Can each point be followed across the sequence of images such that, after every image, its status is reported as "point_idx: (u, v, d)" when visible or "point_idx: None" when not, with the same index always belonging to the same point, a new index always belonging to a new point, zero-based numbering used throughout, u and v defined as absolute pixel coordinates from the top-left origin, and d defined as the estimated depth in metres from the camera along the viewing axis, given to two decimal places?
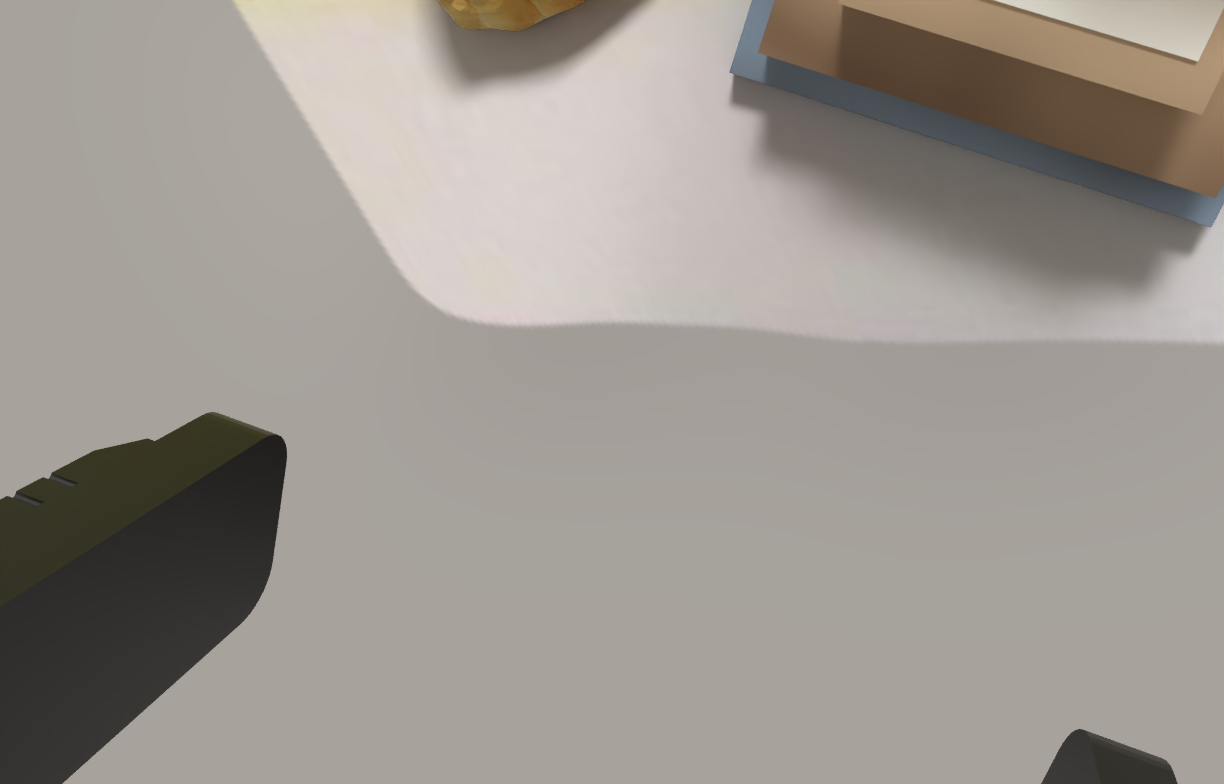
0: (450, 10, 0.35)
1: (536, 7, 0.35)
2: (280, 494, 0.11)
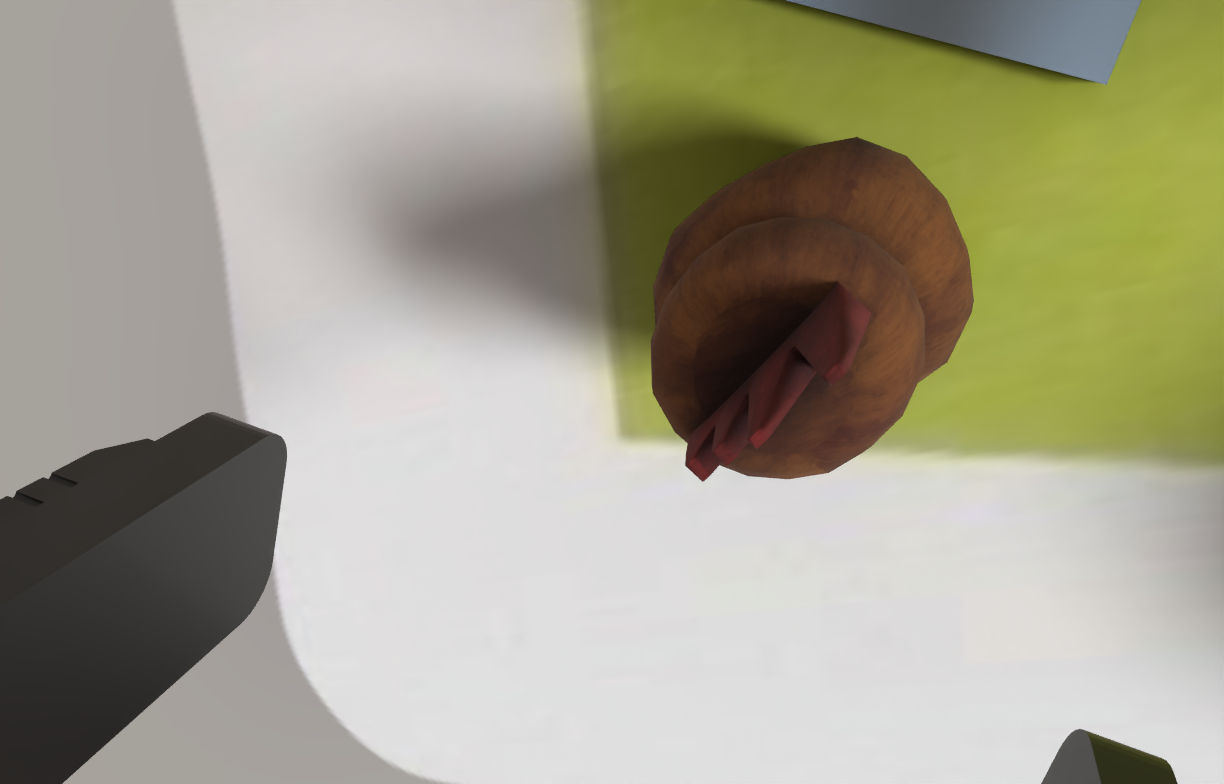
0: None
1: None
2: (280, 494, 0.11)
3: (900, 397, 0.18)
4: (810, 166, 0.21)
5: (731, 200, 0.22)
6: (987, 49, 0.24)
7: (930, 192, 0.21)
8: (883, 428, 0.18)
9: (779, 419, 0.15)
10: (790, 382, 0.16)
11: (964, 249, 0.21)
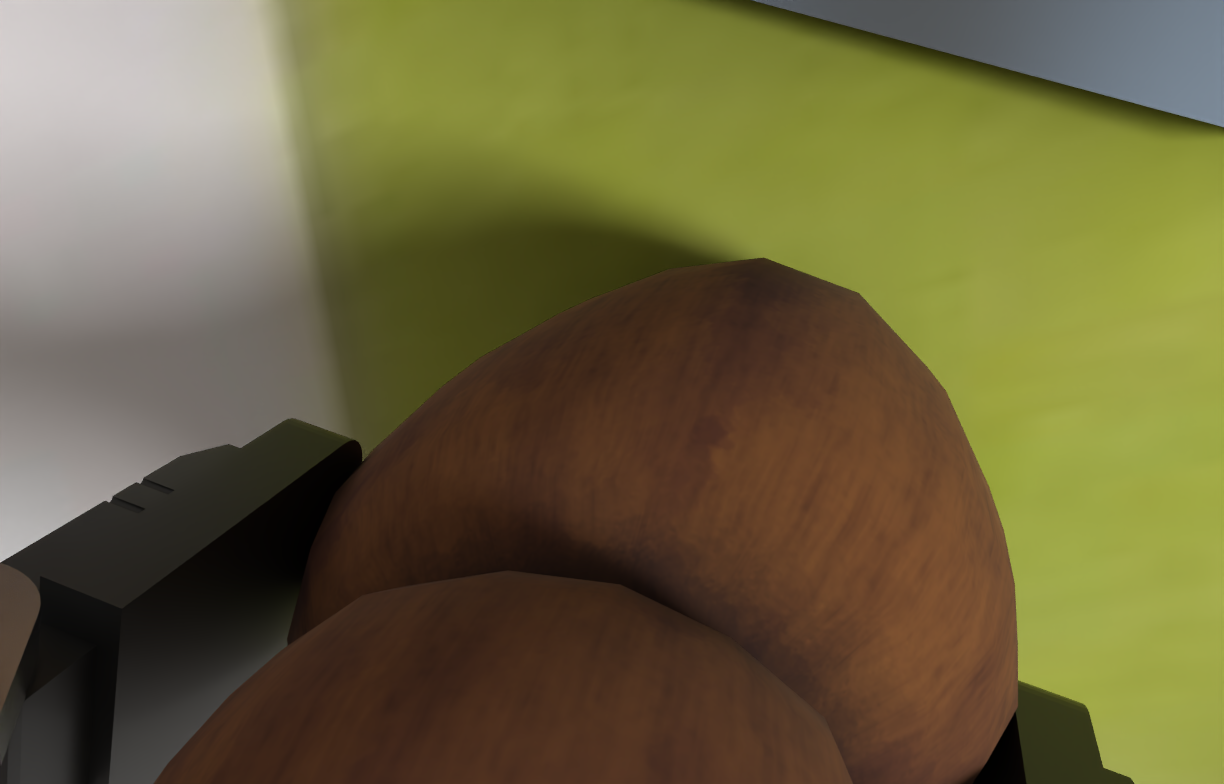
0: None
1: None
2: None
3: None
4: (620, 364, 0.09)
5: (435, 438, 0.09)
6: (1038, 69, 0.11)
7: (918, 430, 0.08)
8: None
9: None
10: None
11: (1002, 567, 0.09)
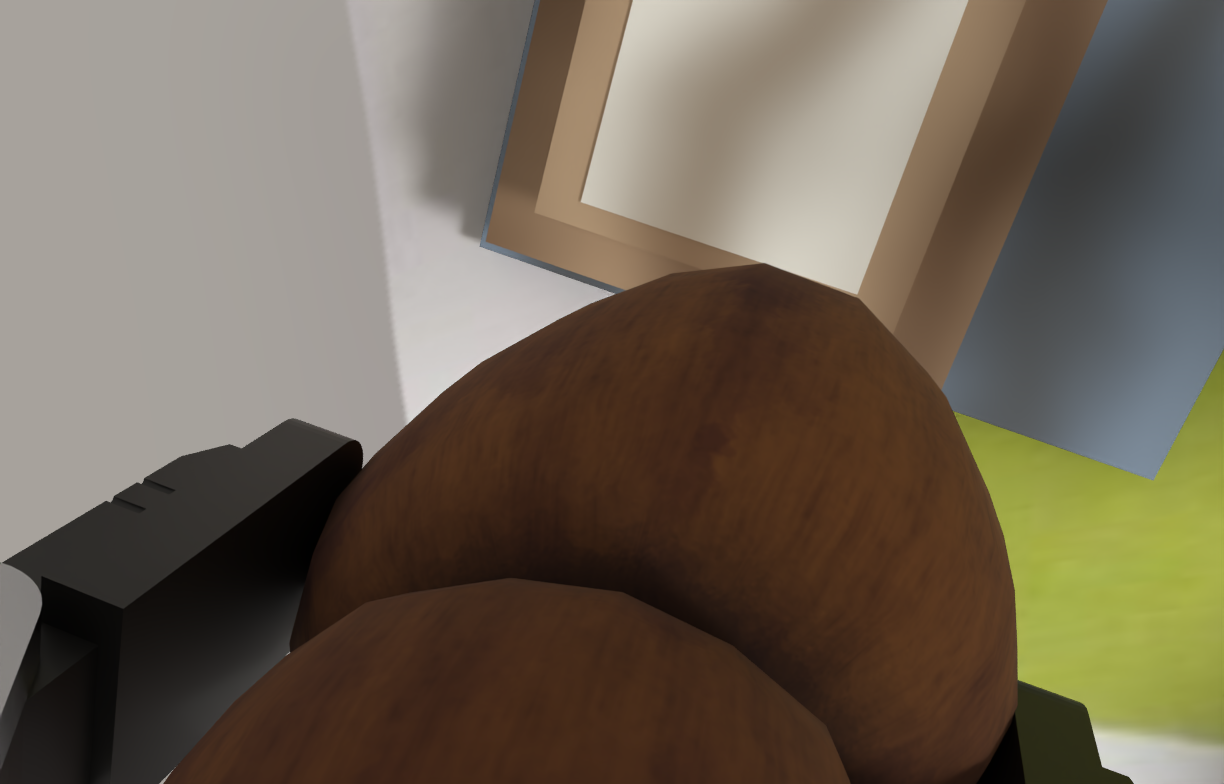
0: None
1: None
2: None
3: None
4: (621, 371, 0.09)
5: (437, 444, 0.09)
6: (1062, 446, 0.32)
7: (919, 437, 0.08)
8: None
9: None
10: None
11: (1003, 574, 0.09)
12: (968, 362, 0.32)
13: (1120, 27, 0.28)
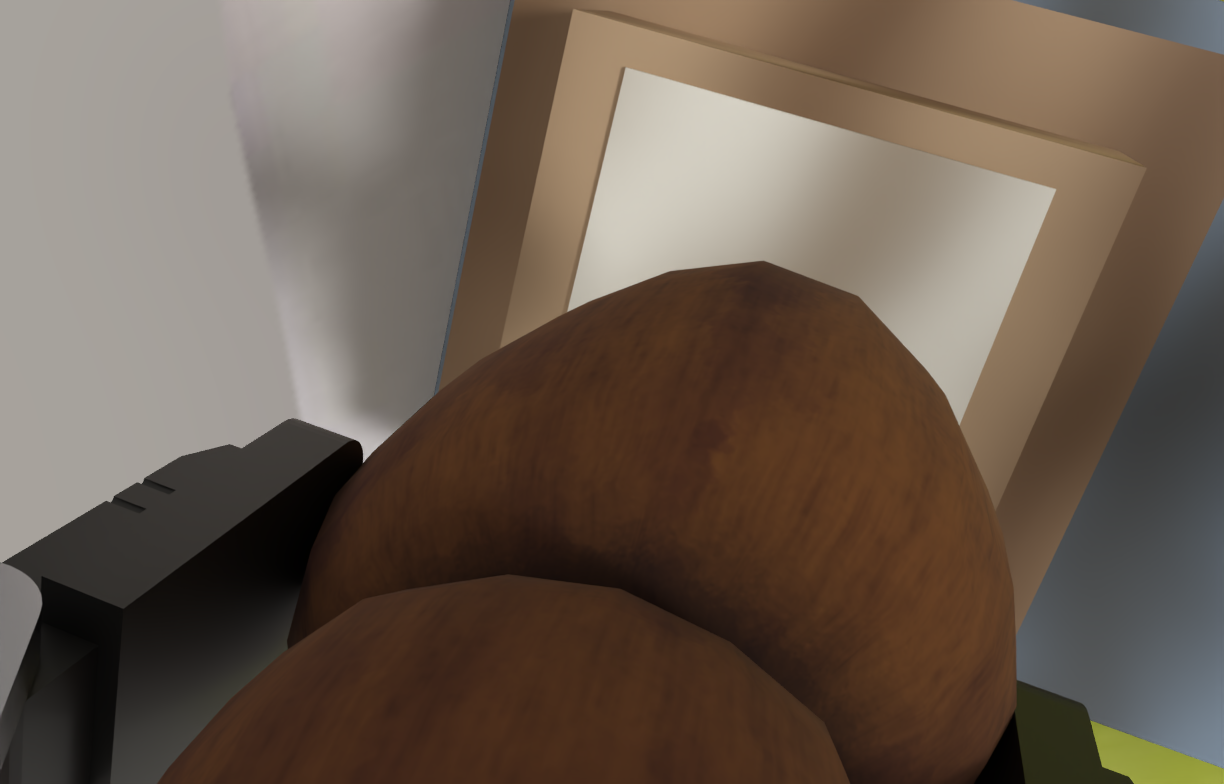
0: None
1: None
2: None
3: None
4: (620, 367, 0.09)
5: (435, 441, 0.09)
6: (1138, 735, 0.25)
7: (918, 434, 0.08)
8: None
9: None
10: None
11: (1002, 571, 0.09)
12: (1019, 632, 0.25)
13: (1210, 248, 0.22)
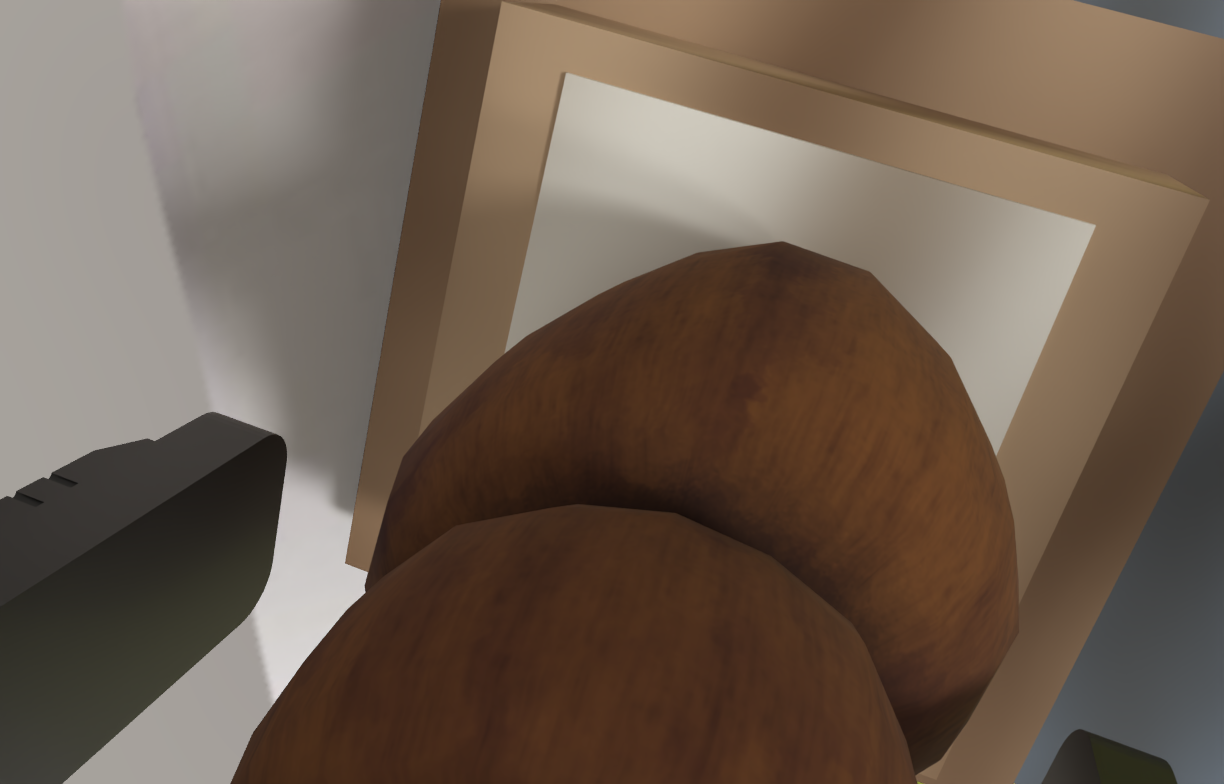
0: None
1: None
2: (280, 494, 0.11)
3: None
4: (663, 332, 0.10)
5: (499, 401, 0.10)
6: None
7: (927, 386, 0.10)
8: None
9: None
10: None
11: (1004, 507, 0.10)
12: None
13: None
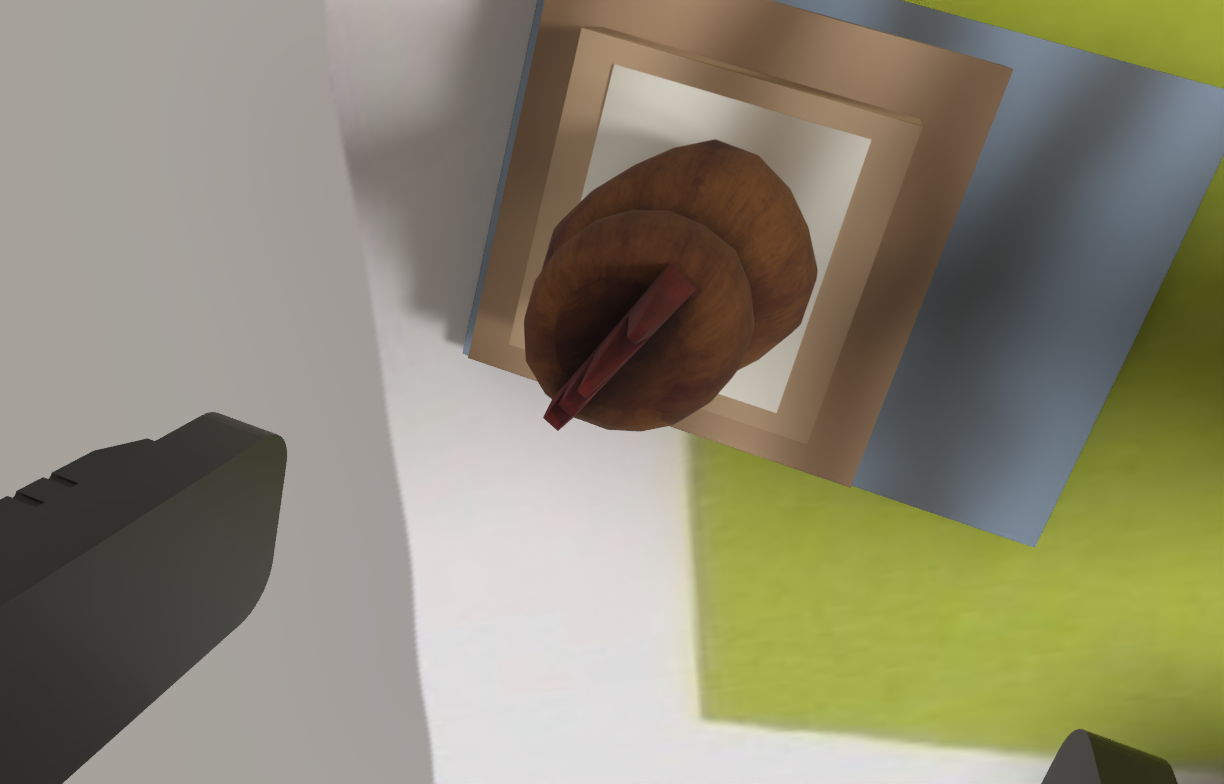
0: None
1: None
2: (280, 494, 0.11)
3: (726, 359, 0.21)
4: (667, 165, 0.25)
5: (601, 195, 0.25)
6: (959, 520, 0.38)
7: (770, 187, 0.25)
8: (714, 385, 0.21)
9: (606, 374, 0.18)
10: (621, 345, 0.19)
11: (800, 236, 0.25)
12: (879, 451, 0.37)
13: (990, 183, 0.34)
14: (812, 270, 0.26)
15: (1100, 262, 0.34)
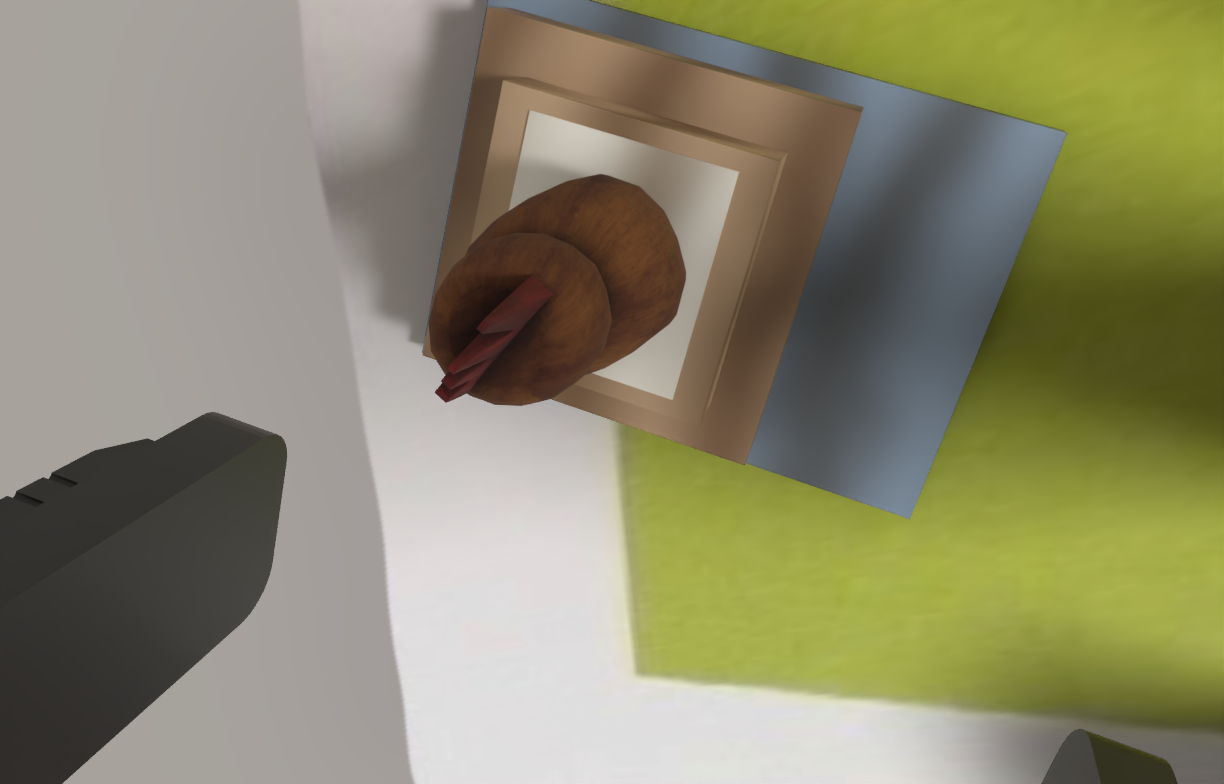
0: None
1: None
2: (280, 494, 0.11)
3: (581, 348, 0.27)
4: (553, 197, 0.31)
5: (502, 220, 0.31)
6: (845, 495, 0.43)
7: (635, 213, 0.31)
8: (573, 369, 0.28)
9: (470, 357, 0.24)
10: (487, 336, 0.25)
11: (660, 252, 0.31)
12: (775, 435, 0.43)
13: (857, 206, 0.40)
14: (674, 279, 0.32)
15: (951, 272, 0.40)
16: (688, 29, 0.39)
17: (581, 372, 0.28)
